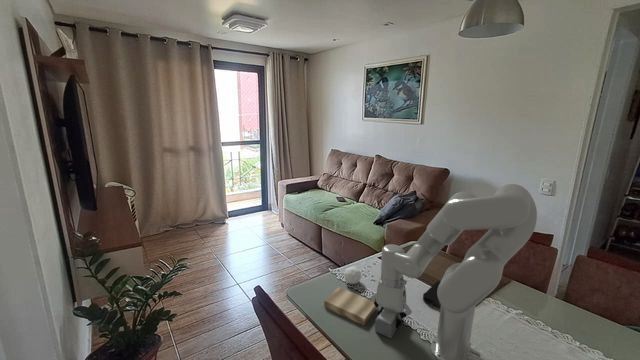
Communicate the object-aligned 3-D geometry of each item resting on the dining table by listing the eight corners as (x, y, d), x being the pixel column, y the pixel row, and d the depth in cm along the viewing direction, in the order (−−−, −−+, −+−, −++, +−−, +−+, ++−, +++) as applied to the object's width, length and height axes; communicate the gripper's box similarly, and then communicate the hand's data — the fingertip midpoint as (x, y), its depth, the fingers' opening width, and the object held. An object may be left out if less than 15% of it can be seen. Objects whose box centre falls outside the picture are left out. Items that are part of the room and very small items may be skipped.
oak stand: (376, 309, 116) (377, 302, 115) (364, 325, 107) (364, 318, 106) (338, 293, 126) (338, 287, 125) (324, 307, 117) (324, 300, 117)
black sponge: (440, 311, 115) (441, 303, 114) (420, 301, 121) (421, 294, 120) (456, 293, 126) (457, 286, 125) (437, 285, 132) (438, 278, 131)
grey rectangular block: (403, 318, 110) (404, 305, 109) (390, 338, 101) (391, 324, 99) (388, 312, 114) (389, 299, 112) (375, 331, 104) (375, 317, 103)
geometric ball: (356, 288, 134) (365, 280, 129) (341, 285, 131) (349, 277, 126) (355, 273, 139) (363, 265, 134) (340, 269, 137) (348, 261, 132)
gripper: (419, 281, 101) (416, 325, 105) (373, 267, 111) (372, 308, 115) (412, 292, 95) (409, 339, 99) (364, 276, 105) (364, 319, 109)
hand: (389, 322), depth 107 cm, fingers closed on grey rectangular block, 6 cm apart
